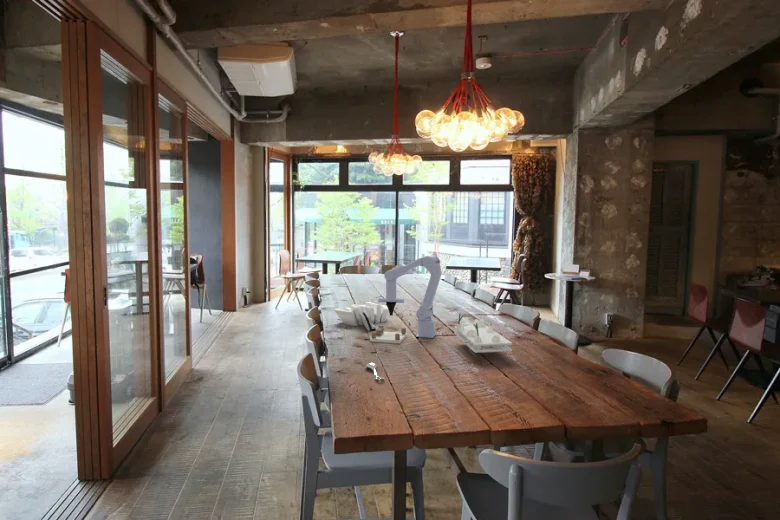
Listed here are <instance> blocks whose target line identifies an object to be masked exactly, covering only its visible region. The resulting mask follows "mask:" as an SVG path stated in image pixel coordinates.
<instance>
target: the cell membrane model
mask: <svg viewBox="0 0 780 520" xmlns="http://www.w3.org/2000/svg"><path fill="white" fill-rule="evenodd" d="M463 317H464V315H461V313H459V315H458V319H457V318H456V319H455V322H456V323H457V324H456V325H455V326H453V327H454V332H453V334H454V335H455V336H456V337H457V338H458V339H459V341H460V343H462V344H465V346H466V347H468V348H469V352H470V353H472V352H474V353H475V354H477V353H478V354H479V353H480V354H482V353H483V354H484V353H499V352H500V353H504V352H505V353H506V352H509V353H510V352H512V351H513V349H512V348H511V347H512V345H513V342H512V341H510V340H509V339H508V338H505V337H504V336H503V335H501V334H500V333H499V332H497V331H496V330H497V329H496V330H495V329H494V327H493V326H492V324H490V325H489V326H488V325H486V323H485V320H484V319H483V317H481V318H480V319H474V321H473V324H472V325H464V323H463V322H461V320H462V319H463ZM475 354H474V356H475V357H477V355H475Z"/></svg>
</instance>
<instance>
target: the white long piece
mask: <svg viewBox="0 0 780 520" xmlns="http://www.w3.org/2000/svg"><path fill="white" fill-rule="evenodd" d="M377 366H378V365H377V364H376V363H374V362H370V363H367V364H366V365H365V367H366V368H369V369H371V370H372V371H373V375H374V377H375V376H376V378H374V379H375V380H384V379H385V377H383V376H379V375H378V373H377V371H376V368H377Z"/></svg>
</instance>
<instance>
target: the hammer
mask: <svg viewBox="0 0 780 520" xmlns="http://www.w3.org/2000/svg"><path fill="white" fill-rule="evenodd" d="M384 326H385V325H378V327H376V330H375V332H376V335H381V334H382V333H383V332H385V331H384Z"/></svg>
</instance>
